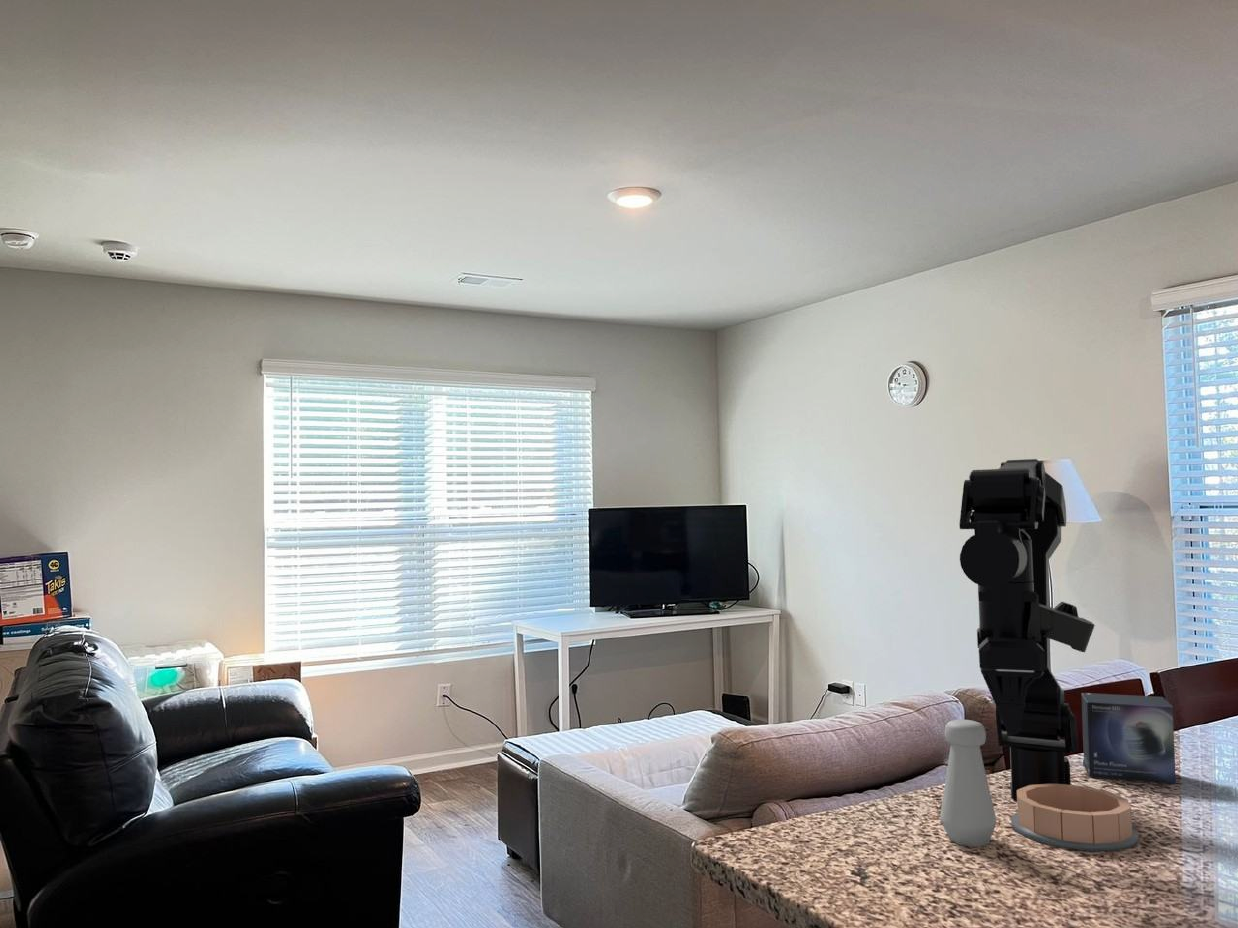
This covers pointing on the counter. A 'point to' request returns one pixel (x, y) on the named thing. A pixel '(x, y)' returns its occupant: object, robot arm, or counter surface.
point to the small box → (1128, 737)
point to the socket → (1074, 817)
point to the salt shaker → (967, 787)
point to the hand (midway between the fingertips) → (1011, 723)
